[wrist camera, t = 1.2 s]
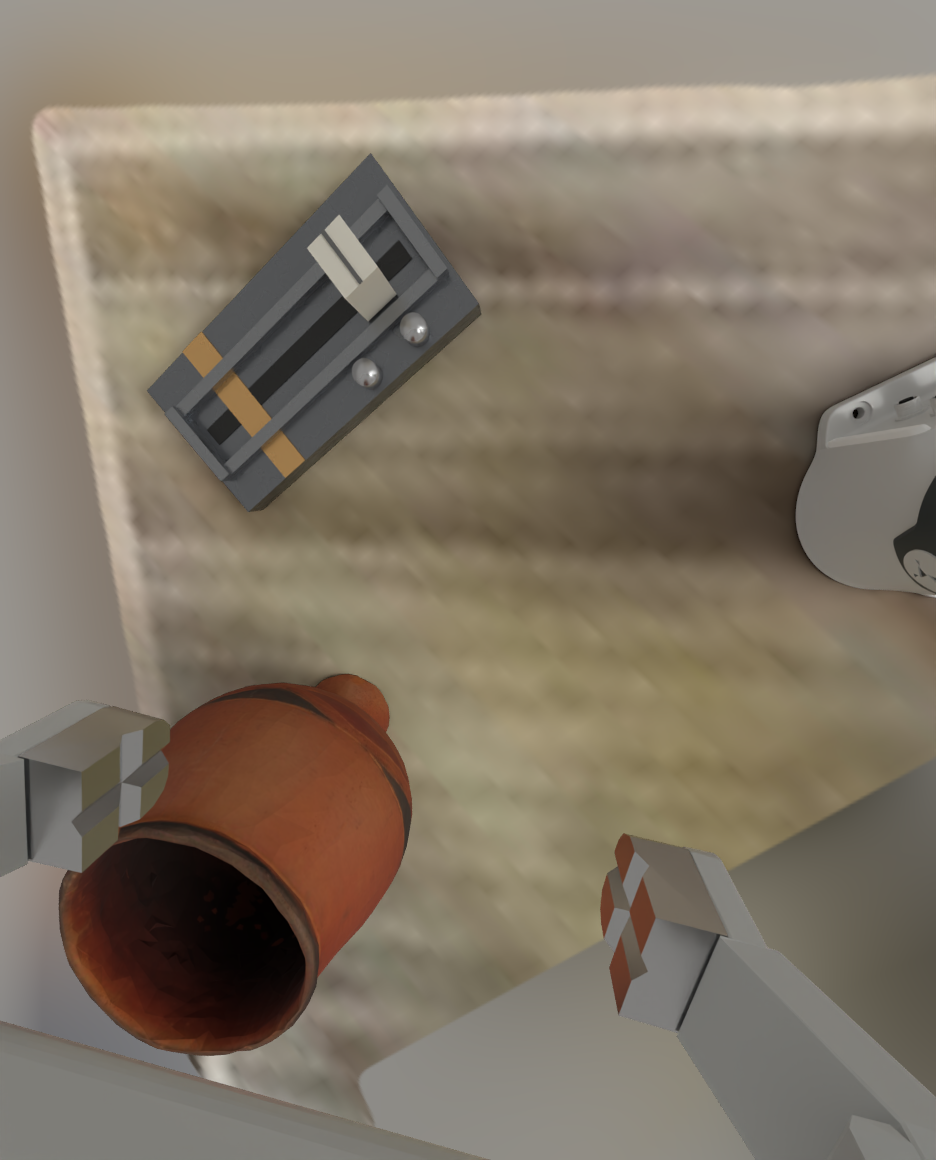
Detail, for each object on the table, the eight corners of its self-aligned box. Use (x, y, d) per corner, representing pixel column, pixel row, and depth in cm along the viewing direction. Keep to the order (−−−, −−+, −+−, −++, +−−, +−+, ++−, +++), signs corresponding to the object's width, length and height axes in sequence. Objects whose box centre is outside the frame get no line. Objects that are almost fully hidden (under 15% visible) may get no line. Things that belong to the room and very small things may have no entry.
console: (380, 173, 37) (364, 138, 33) (481, 314, 38) (477, 296, 34) (167, 395, 43) (132, 387, 39) (263, 509, 44) (238, 513, 40)
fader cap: (363, 249, 36) (338, 213, 31) (396, 294, 36) (377, 265, 31) (335, 277, 36) (306, 247, 31) (368, 321, 37) (344, 298, 32)
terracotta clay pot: (452, 639, 45) (375, 834, 21) (430, 808, 50) (345, 1129, 25) (262, 608, 46) (-17, 757, 22) (257, 775, 51) (22, 1050, 27)
